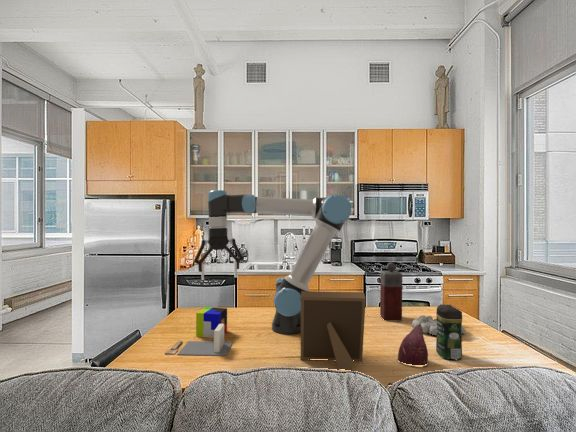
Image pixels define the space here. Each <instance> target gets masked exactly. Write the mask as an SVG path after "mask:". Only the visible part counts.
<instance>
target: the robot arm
mask: <svg viewBox="0 0 576 432" xmlns="http://www.w3.org/2000/svg"><path fill="white" fill-rule="evenodd" d="M207 199H208V201H207V205H208V227H209V229H208V240H207V239H201V244H200V247H199V249H198V251H197V253H196V255H195V257H194V260H193V262H194V263H195V264H197V266H198V272H199V273H200V274H201V280H202V281H205V271H204V270H205V268H204V267H205V264H204V261H205V260H206V259H207V257H208V256H209V255H210V254H211V252H212V251H213V250H214V251H218V250H219V251H222V250H226V252H227V253H228V254H229V255H230V256H231V257H232V258H233V259H234V260H235V261H233V275H234V276H233V277H234V278H238V270H239V269H240V262H241V261H243V260H244V257H243V254H242V252H241V251H240V249H239V246H238V245H237V244H236V238H230V239H229V238H228V228H227V227H228V214H234V213H235V214H237V213H238V214H239V213H240V214H241V213H242V214H260V215H261V214H262V215H263V214H264V215H279V216H282V215H283V216H297V217H298V216H299V217H312V219H314V221H315V225H314V227H313V229H312V231H311V233H310V235H309V237H308V239H307V241H306V242H305V245H304V247H303V249H302V251H301V253H300V255H299V256H298V258H297V260H296V262H295V264H294V266H293V268H292V270H291V272H290V274H288V275H286V276H284V277H278V278H277V279H276V282H275V295H274V297H273V305H274V307H275V313H274V317H273V320H272V323H271V330H272V331H273V332H275V333H278V334H284V335H293V334H299V333H300V334H301V291H310V287H309V283H310V282H311V279H312V278H313V276H314V274H315V273H316V270H317V269H318V266H319V264H320V263H321V261H322V259H323V257H324V254H325V253H326V251H327V249H328V247H329V245H330V243H331V241H332V239H333V237H334V236H335V234H337V233H340V232H341V230H342V229H343V226H344V224H345V222H346V221H348V219H349V218H350V216H351V213H352V204H351V203H350V201H349V199H348V198H347V197H346V196H344V195H341V194H338V193H333V194H330V195H329V196H326V197H314V198H313V199H309V198H308V199H307V198H288V197H287V198H286V197H268V196H267V197H266V196H265V197H264V196H255V195H254V194H245V193H244V194H227V191H226V190H221V189H220V190H218V189H216V190H215V189H214V190H210V191H209V192H208V198H207ZM207 244H208V245H209V248H208V249H207V250H206V251H205V253H204V254H203V255H202V253H203V251H204V249H205V246H207ZM228 244H231V245H232V247H233V248H234V251H235V252H236V254H237V255H236V254H235V253H234V252H233V251H232V250H231V248H229V246H228ZM201 255H202V256H201Z"/></svg>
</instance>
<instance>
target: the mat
mask: <svg viewBox="0 0 576 432" xmlns="http://www.w3.org/2000/svg"><path fill="white" fill-rule="evenodd" d="M233 343H234V342H233V341H224V345H223V347H222V349H221V350H220V352H214V341H212V340H211V341H207V340H205V341H204V340H203V341H202V340H201V341H200V340H198V341H197V340H188V341H187V342H186V343H185V344H184V345H183V347H181V349H180V350H179V351H178V352H177V354H176V355H177V356H202V357H203V356H205V357H208V356H210V357H211V356H212V357H214V356H215V357H216V356H217V357H218V356H219V357H226V356H228V353H229V352H230V349H231V347H232V345H233Z"/></svg>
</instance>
